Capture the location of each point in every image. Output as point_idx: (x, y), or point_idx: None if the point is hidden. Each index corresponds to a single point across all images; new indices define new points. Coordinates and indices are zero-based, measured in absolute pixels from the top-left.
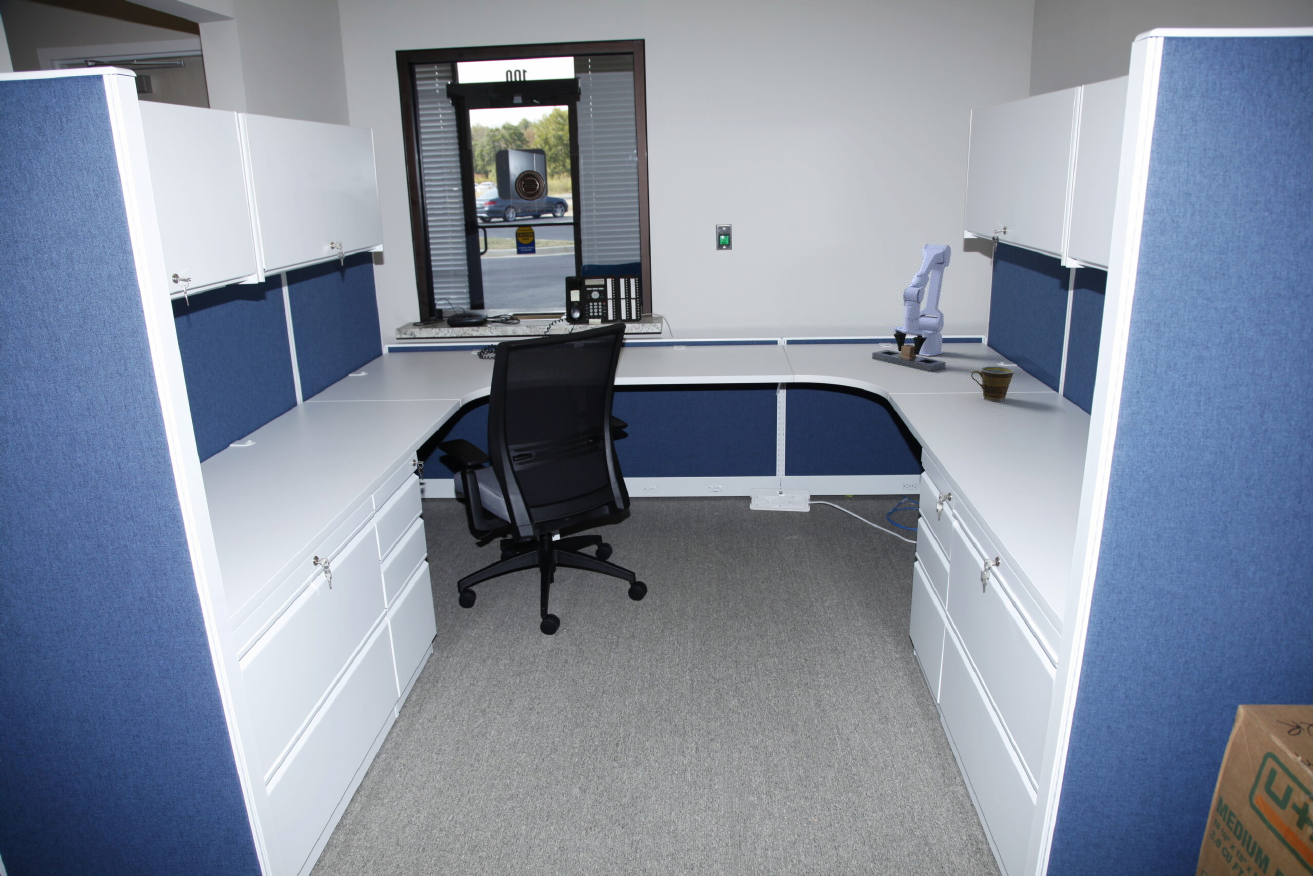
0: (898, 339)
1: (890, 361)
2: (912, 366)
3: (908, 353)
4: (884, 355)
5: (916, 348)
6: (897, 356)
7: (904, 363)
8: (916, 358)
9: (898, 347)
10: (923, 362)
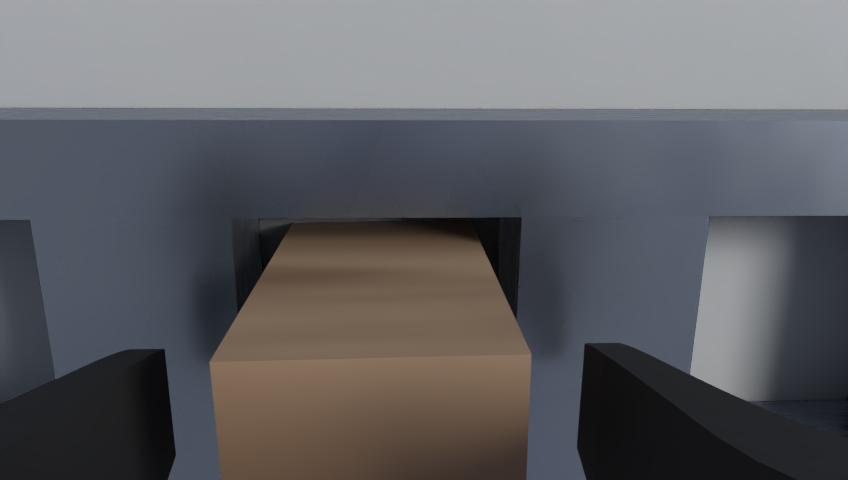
0: (768, 461)
1: (609, 112)
2: (96, 110)
3: (282, 293)
4: (807, 120)
5: (3, 407)
6: (559, 242)
7: (283, 113)
8: (209, 387)
9: (648, 363)
10: None
